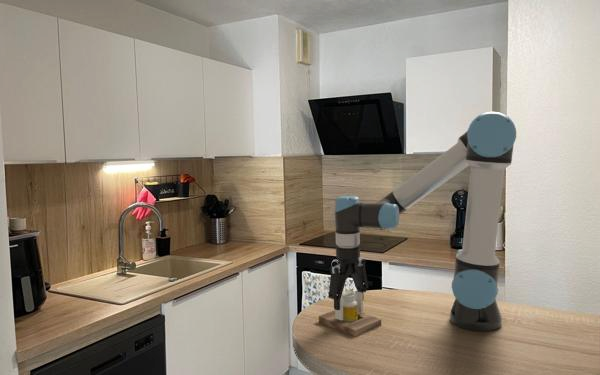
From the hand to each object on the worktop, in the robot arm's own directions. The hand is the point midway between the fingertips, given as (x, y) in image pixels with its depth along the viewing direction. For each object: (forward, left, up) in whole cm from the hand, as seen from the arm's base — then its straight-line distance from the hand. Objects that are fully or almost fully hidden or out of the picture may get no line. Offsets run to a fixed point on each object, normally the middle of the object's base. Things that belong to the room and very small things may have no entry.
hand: (349, 315), depth 148 cm
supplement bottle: (0, 0, -3) cm, 3 cm away
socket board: (0, 0, -3) cm, 3 cm away
